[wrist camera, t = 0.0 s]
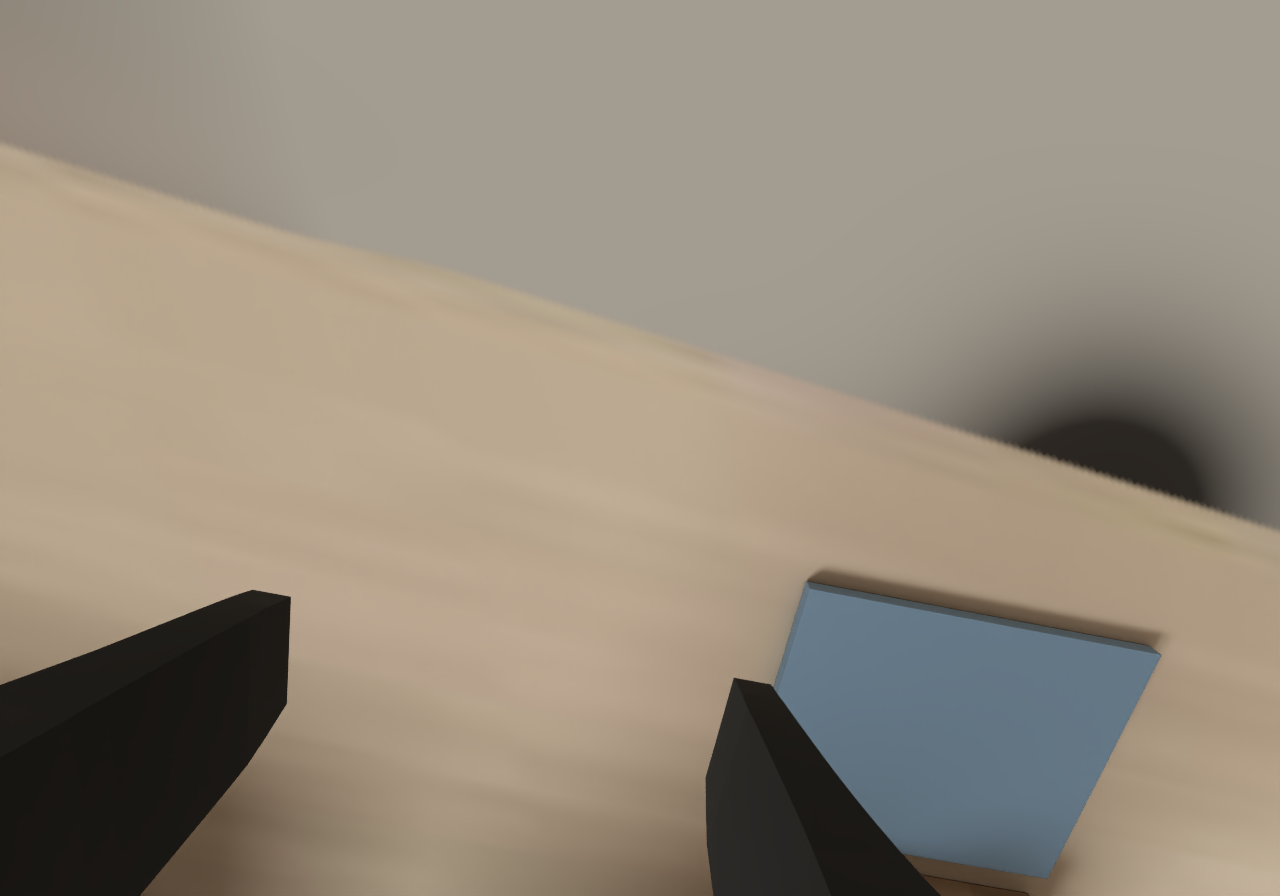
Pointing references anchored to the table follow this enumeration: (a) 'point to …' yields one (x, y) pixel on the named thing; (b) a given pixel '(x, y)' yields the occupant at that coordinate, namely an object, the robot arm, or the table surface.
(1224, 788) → the table surface
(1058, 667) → the mat
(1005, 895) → the eye block
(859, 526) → the table surface
